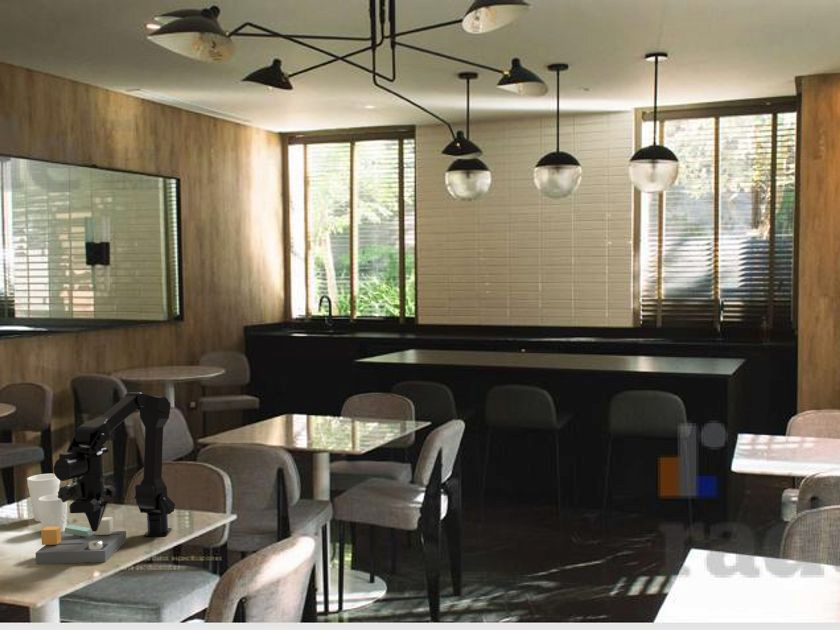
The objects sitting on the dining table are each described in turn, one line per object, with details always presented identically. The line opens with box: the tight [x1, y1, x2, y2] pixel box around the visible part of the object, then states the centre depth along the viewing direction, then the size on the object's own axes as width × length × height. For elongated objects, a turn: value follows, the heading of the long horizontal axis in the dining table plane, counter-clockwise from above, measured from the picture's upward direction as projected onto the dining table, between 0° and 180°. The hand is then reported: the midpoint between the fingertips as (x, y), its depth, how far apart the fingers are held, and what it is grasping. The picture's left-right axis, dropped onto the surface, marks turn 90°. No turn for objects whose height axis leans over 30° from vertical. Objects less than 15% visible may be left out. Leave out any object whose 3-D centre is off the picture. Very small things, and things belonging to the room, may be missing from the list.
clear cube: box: [89, 540, 103, 550], centre depth 243 cm, size 4×4×4 cm
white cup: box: [38, 494, 68, 533], centre depth 270 cm, size 8×8×10 cm
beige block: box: [94, 516, 114, 535], centre depth 254 cm, size 3×4×4 cm
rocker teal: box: [63, 524, 92, 537], centre depth 253 cm, size 3×6×2 cm, turn 91°
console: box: [35, 530, 127, 565], centre depth 248 cm, size 18×18×4 cm
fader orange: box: [40, 527, 62, 546], centre depth 246 cm, size 3×4×4 cm
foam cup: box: [26, 473, 61, 522], centre depth 284 cm, size 10×9×13 cm
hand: (94, 531), depth 242 cm, fingers closed
